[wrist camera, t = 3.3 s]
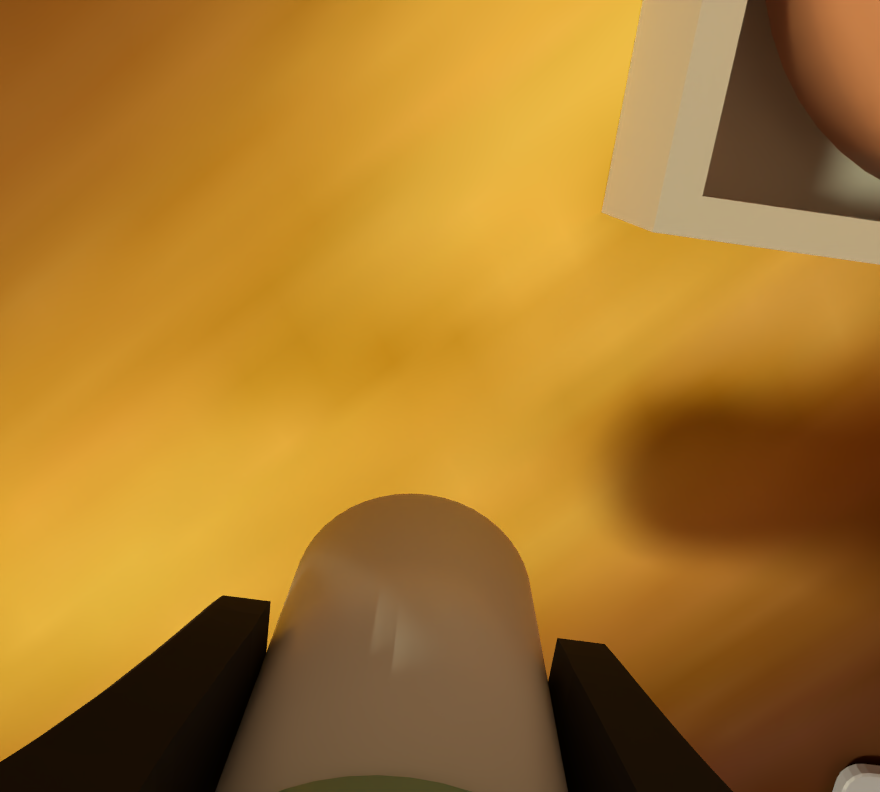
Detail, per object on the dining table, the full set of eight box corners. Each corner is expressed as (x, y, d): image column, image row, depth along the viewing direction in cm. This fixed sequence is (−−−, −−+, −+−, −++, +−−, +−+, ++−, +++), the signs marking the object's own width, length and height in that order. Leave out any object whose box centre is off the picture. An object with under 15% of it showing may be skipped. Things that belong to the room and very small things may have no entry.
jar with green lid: (515, 722, 12) (590, 1376, 6) (277, 692, 12) (73, 1323, 6) (558, 505, 11) (714, 1005, 5) (297, 470, 11) (75, 931, 5)
